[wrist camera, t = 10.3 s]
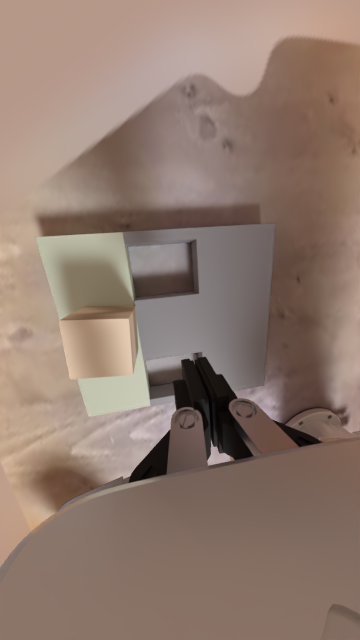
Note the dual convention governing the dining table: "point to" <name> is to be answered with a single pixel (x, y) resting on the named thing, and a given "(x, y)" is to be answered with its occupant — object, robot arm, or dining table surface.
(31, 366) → the dining table surface
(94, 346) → the birch block
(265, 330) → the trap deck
